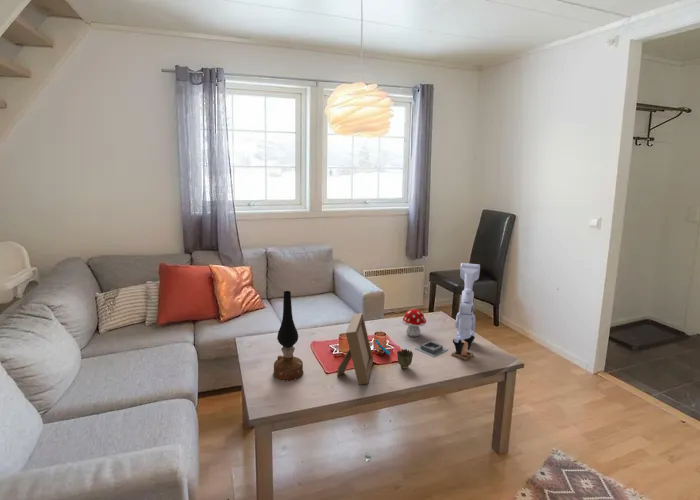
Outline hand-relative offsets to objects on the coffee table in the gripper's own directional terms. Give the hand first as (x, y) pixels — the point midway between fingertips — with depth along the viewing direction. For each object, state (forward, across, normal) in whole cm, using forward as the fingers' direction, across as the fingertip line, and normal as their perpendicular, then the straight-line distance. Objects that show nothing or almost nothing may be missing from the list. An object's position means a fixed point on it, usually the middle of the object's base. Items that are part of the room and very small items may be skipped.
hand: (462, 351), depth 210 cm
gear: (+4, +27, -30) cm, 40 cm away
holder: (+3, 0, 0) cm, 3 cm away
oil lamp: (+4, +74, -44) cm, 86 cm away
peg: (+2, 0, 0) cm, 2 cm away
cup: (+4, +30, -12) cm, 33 cm away
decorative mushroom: (+3, -3, -34) cm, 34 cm away
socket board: (+3, +6, -14) cm, 16 cm away
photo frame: (+4, +50, -26) cm, 56 cm away
